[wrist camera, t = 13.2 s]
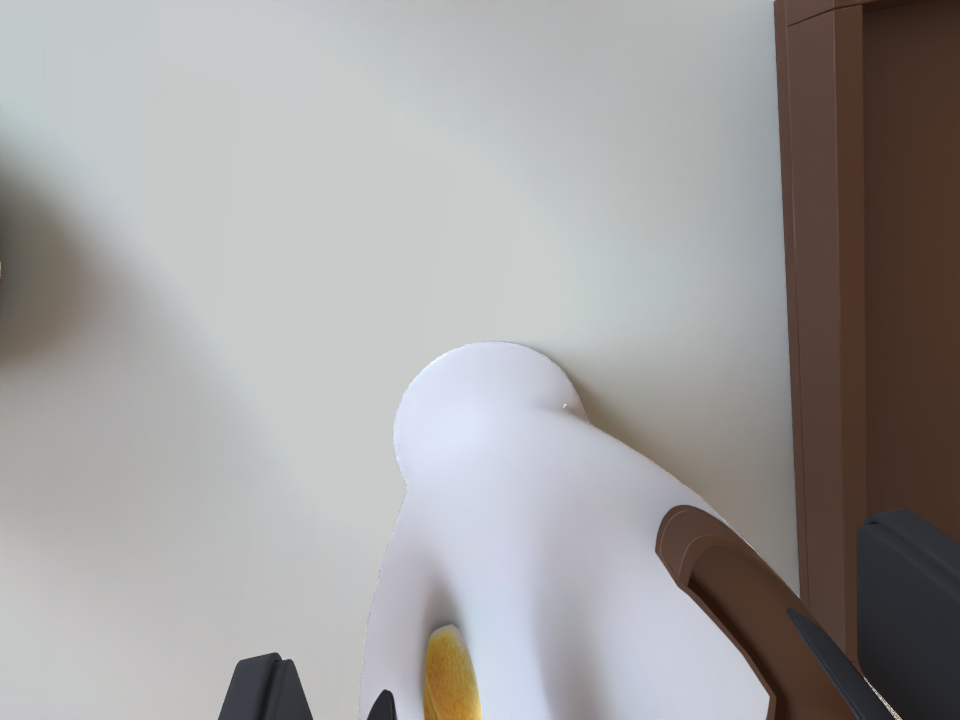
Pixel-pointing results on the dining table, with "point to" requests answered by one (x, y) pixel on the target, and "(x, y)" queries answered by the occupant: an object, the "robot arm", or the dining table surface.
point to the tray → (869, 276)
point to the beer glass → (573, 574)
